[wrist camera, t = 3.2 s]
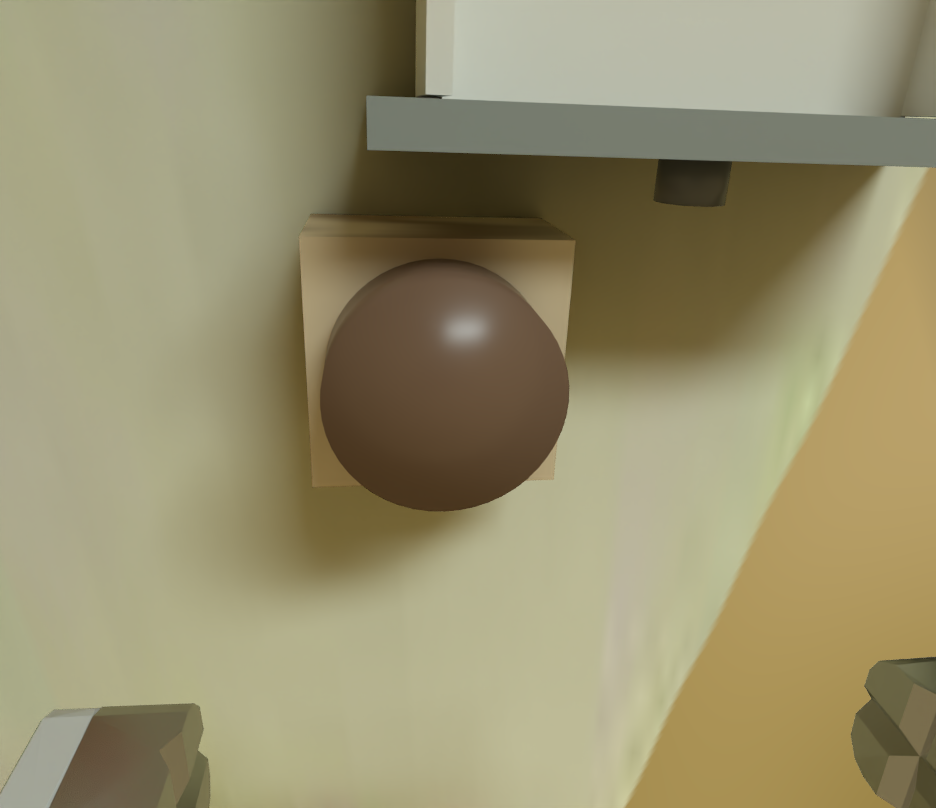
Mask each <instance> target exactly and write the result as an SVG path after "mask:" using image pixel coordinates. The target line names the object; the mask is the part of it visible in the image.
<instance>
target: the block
mask: <svg viewBox="0 0 936 808" xmlns="http://www.w3.org/2000/svg"><path fill="white" fill-rule="evenodd" d="M575 244H576V240H574V239H573V238H571V237H569V236H568V235H566V234H565V233H563V232H562V231H560V230H559V229H557V228H555V227H554V226H552V225H551V224H549V223H548V222H546V221H544V220H543V219H541V218H497V217H444V216H391V215H337V214H310V216H309V218H308V220H307V222H306V224H305V226H304V228H303V230H302V231H301V233H300V235H299V249H300V267H301V285H302V304H303V322H304V341H305V359H306V377H307V396H308V414H309V433H310V451H311V470H312V487H337V486H362V485H361V484H360V483H358V482H357V481H356V480H355V479H354V478H353V477H352V476H351V475H350V474H349V473H348V472H347V471H346V469H345V468H344V467H343V466H342V464H341V463H340V462H339V460H338V459H337V457H336V455H335V454H334V452H333V450H332V449H331V446H330V444H329V442H328V439H327V437H326V434H325V431H324V427H323V423H322V418H321V410H320V389H321V382H322V376H323V370H324V364H325V358H326V352H327V347H328V342H329V338H330V335H331V332H332V329H333V327H334V325H335V323H336V321H337V319H338V317H339V315H340V313H341V312H342V310H343V309H344V307H345V306H346V304H347V303H348V302H349V301H350V299H351V298H352V297H353V296H354V295H355V294H356V293H357V292H358V291H359V290H360V289H361V288H362V287H363V286H365V285H366V284H367V283H368V282H369V281H371V280H373V279H374V278H376V277H377V276H379V275H380V274H382V273H384V272H386V271H388V270H390V269H392V268H394V267H397V266H400V265H403V264H406V263H409V262H414V261H419V260H424V259H440V258H441V259H454V260H460V261H465V262H469V263H473V264H475V265H478V266H481V267H484V268H486V269H488V270H490V271H492V272H494V273H496V274H498V275H499V276H500V277H502V278H503V279H505V280H506V281H508V282H509V283H510V284H511V285H512V286H513V287H514V288H516V289H517V290H518V291H519V292H520V293H521V295H522V296H523V297H524V298H525V299H526V301H527V302H528V303H529V304H530V305H531V307H532V308H533V309H534V310H535V312H536V313H537V314H538V315H539V316H540V318H541V319H542V320H543V321H544V323H545V324H546V325H547V326H548V328H549V329H550V330H551V332H552V334H553V335H554V337H555V339H556V340H557V342H558V344H559V347H560V349H561V351H562V354H563V356H564V360H565V351H566V340H567V330H568V319H569V308H570V297H571V287H572V276H573V265H574V254H575ZM556 448H557V442H556V444H555V446H554V447H553V449H552V450H551V452H550V454H549V455H548V457H547V458H546V459H545V461H544V462H543V463H542V464H541V466H540V467H539V468H538V469H537V470H536V471H535V472H534V473H533V474H532V475H531V476H530V477H529V478H528V479H527V480H554V470H555V459H556Z"/></svg>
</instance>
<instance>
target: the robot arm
mask: <svg viewBox="0 0 936 808" xmlns="http://www.w3.org/2000/svg"><path fill="white" fill-rule="evenodd" d="M865 688H866V689H867V691H868V693H869V695H870V697H871V700H870V701H869V702H868V703H866V704H865V705H864V706H863V707H862V708H861V709H860V710H859V711H858V712H857V713H856V716H855V720H854V724H853V728H852V732H851V738H852V745H853V751H854V756H855V760H856V762H857V764H858V766H859V768H860V771H861V773H862V775H863V777H864V778H865V779H866V781H867V782H868V784H869V785H870V786H871V788H872V790H873V791H874V792H875V794H876V795H877V796H879V797H880V798H882V799H883V800H885V801H887V802H888V803H890V804H891V805H893V806H894V807H896V808H936V657H927V658H913V659H899V660H886V661H878V662H877V663H876V664H875V665H874V666H873V667H872V668H871V669H870V670H869V673H868V677H867V680H866V683H865ZM203 730H204V728H203V722H202V717H201V711H200V707H199V706H198V705H196V704H194V703H191V704H164V705H137V706H109V707H102V708H85V709H54V710H53V711H52V712H50V713H49V714H48V715H47V716H46V717H44V718H43V719H42V720H41V721H40V723H39V725H38V727H37V728H36V730H35V732H34V734H33V735H32V737H31V739H30V741H29V743H28V744H27V746H26V748H25V750H24V751H23V753H22V755H21V757H20V758H19V760H18V762H17V764H16V765H15V767H14V769H13V771H12V773H11V774H10V776H9V778H8V780H7V781H6V783H5V785H4V787H3V788H2V790H1V792H0V808H209V804H210V771H209V763H208V759H207V758H206V757H205V756H204V755H203V754H201V753H200V752H199V751H198V748H199V744H200V741H201V737H202V734H203Z"/></svg>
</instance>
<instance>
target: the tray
mask: <svg viewBox="0 0 936 808" xmlns="http://www.w3.org/2000/svg"><path fill="white" fill-rule="evenodd" d="M366 106H367V150H387V151H419V152H451V153H484V154H516V155H548V156H581V157H613V158H645V159H659V161H658V169H657V176H656V184H655V192H654V199H653V200H654V201H656V202H660V203H666V204H674V205H684V206H702V207H715V206H724V205H725V200H726V194H727V189H728V183H729V177H730V171H731V165H732V161H742V162H775V163H807V164H839V165H872V166H904V167H936V119H924V118H905V116H910V117H936V0H416V82H415V98H413V97H389V96H366Z"/></svg>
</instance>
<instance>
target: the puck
mask: <svg viewBox="0 0 936 808" xmlns="http://www.w3.org/2000/svg"><path fill="white" fill-rule="evenodd" d="M568 403H569V380H568V371H567V367H566V364H565V360H564V356H563V354H562V351H561V349H560V347H559V344H558V342H557V340H556V339H555V337H554V335H553V334H552V332H551V330H550V329H549V328H548V326H547V325H546V324H545V323H544V321H543V320H542V319H541V318H540V316H539V315H538V314H537V313H536V312H535V310H534V309H533V308H532V307H531V305H530V304H529V303H528V302H527V301H526V299H525V298H524V297H523V296H522V295H521V293H520V292H519V291H518V290H517V289H516V288H514V287H513V286H512V285H511V284H510V283H509V282H508V281H506V280H505V279H503V278H502V277H500V276H499V275H498V274H496V273H494V272H492V271H490V270H488V269H486V268H484V267H481V266H478V265H475V264H473V263H469V262H465V261H460V260H454V259H441V258H440V259H424V260H419V261H414V262H409V263H406V264H403V265H400V266H397V267H394V268H392V269H390V270H388V271H386V272H384V273H382V274H380V275H379V276H377V277H376V278H374V279H373V280H371V281H369V282H368V283H367V284H366V285H365V286H363V287H362V288H361V289H360V290H359V291H358V292H357V293H356V294H355V295H354V296H353V297H352V298H351V299H350V301H349V302H348V303H347V304H346V306H345V307H344V309H343V310H342V312H341V313H340V315H339V317H338V319H337V321H336V323H335V325H334V327H333V329H332V332H331V335H330V338H329V342H328V347H327V352H326V358H325V364H324V370H323V376H322V382H321V389H320V410H321V418H322V423H323V427H324V431H325V434H326V437H327V439H328V442H329V444H330V446H331V449H332V450H333V452H334V454H335V455H336V457H337V459H338V460H339V462H340V463H341V464H342V466H343V467H344V468H345V469H346V471H347V472H348V473H349V474H350V475H351V476H352V477H353V478H354V479H355V480H356V481H357V482H358V483H360V484H361V485H362V486H364V487H365V488H366V489H368V490H369V491H371V492H372V493H374V494H376V495H378V496H379V497H381V498H383V499H385V500H387V501H390V502H392V503H395V504H398V505H401V506H404V507H408V508H412V509H418V510H425V511H453V510H462V509H466V508H471V507H475V506H478V505H481V504H484V503H487V502H490V501H492V500H494V499H497V498H499V497H501V496H503V495H505V494H506V493H508V492H510V491H511V490H513V489H515V488H516V487H517V486H519V485H520V484H521V483H523V482H524V481H525V480H527V479H528V478H529V477H530V476H531V475H532V474H533V473H534V472H535V471H536V470H537V469H538V468H539V467H540V466H541V464H542V463H543V462H544V461H545V459H546V458H547V457H548V455H549V454H550V452H551V450H552V449H553V447H554V446H555V444H556V442H557V440H558V438H559V435H560V433H561V431H562V428H563V425H564V422H565V418H566V415H567V409H568Z"/></svg>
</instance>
